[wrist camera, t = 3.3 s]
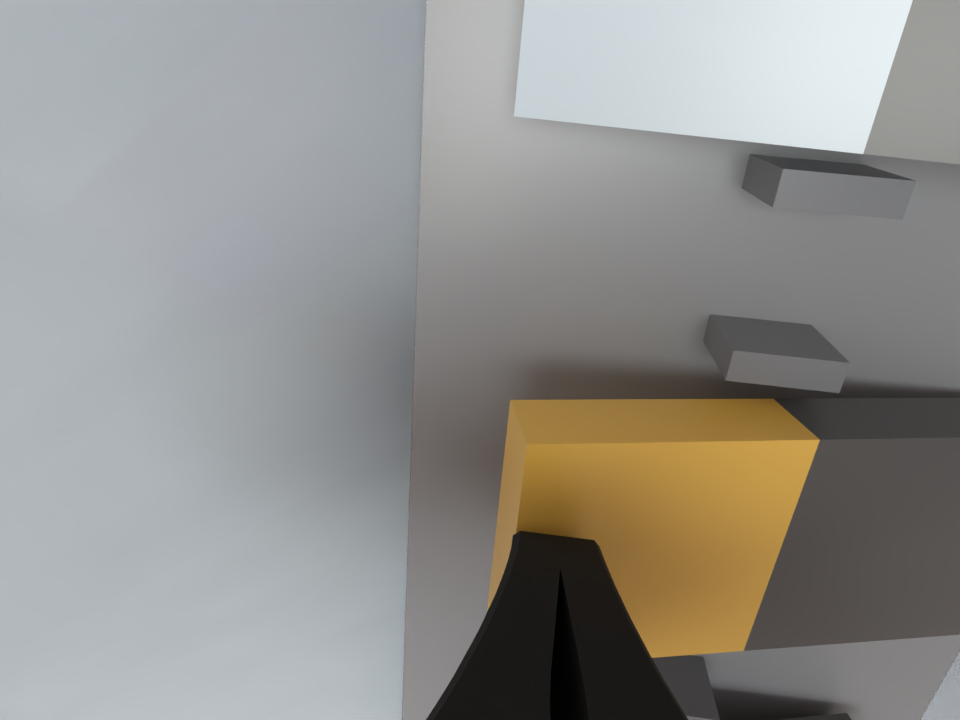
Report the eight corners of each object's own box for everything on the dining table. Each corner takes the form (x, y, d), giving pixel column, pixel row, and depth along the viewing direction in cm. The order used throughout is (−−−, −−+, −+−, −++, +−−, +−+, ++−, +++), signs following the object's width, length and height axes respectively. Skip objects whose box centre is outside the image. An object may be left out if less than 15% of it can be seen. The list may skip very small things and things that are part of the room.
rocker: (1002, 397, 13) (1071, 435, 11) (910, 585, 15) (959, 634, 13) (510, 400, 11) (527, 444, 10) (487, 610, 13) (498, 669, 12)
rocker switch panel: (1644, -933, 8) (2781, -1971, 4) (801, 797, 22) (853, 950, 19) (491, -923, 8) (441, -1774, 5) (413, 739, 23) (385, 874, 19)
